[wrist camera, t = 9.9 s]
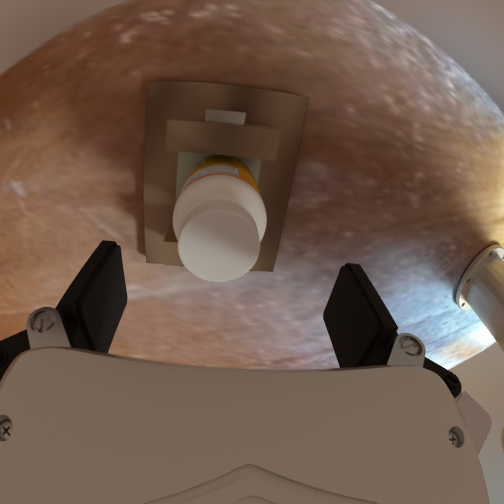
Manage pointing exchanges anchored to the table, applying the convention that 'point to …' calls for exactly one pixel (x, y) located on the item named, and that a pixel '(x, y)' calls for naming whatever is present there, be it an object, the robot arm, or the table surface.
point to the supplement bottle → (219, 219)
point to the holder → (221, 143)
